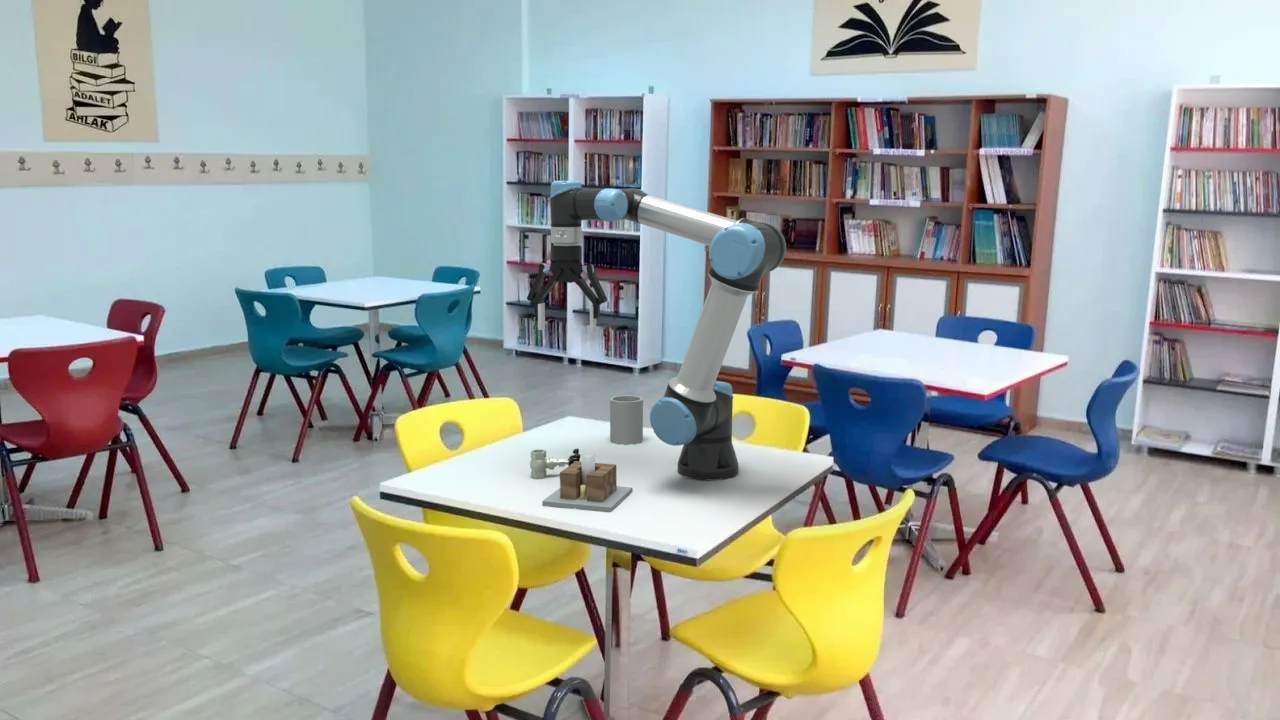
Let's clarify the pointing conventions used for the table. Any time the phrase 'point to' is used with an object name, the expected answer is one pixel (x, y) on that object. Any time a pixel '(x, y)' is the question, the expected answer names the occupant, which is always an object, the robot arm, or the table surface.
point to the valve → (548, 462)
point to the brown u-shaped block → (589, 482)
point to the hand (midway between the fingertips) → (567, 330)
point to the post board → (589, 504)
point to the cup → (626, 420)
